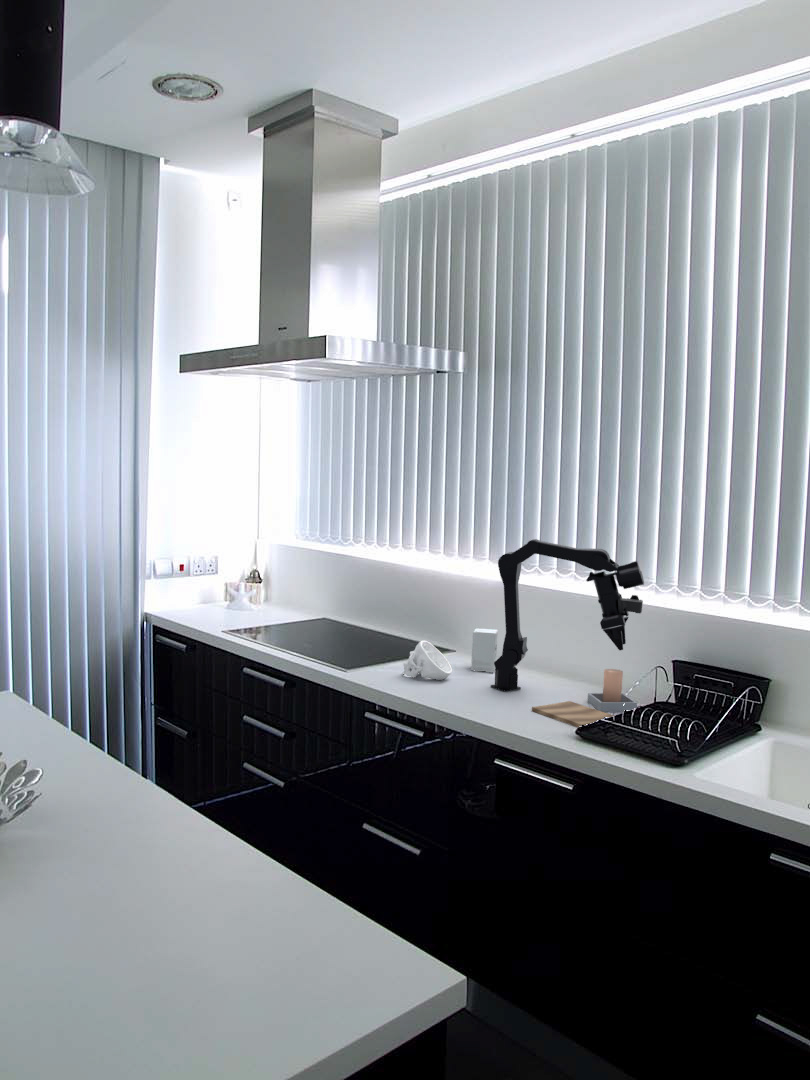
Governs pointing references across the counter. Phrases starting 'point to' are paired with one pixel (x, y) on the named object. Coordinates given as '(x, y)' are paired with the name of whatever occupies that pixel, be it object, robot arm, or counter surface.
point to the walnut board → (571, 713)
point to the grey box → (611, 703)
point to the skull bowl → (427, 662)
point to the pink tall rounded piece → (612, 685)
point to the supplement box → (484, 650)
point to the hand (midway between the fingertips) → (622, 647)
